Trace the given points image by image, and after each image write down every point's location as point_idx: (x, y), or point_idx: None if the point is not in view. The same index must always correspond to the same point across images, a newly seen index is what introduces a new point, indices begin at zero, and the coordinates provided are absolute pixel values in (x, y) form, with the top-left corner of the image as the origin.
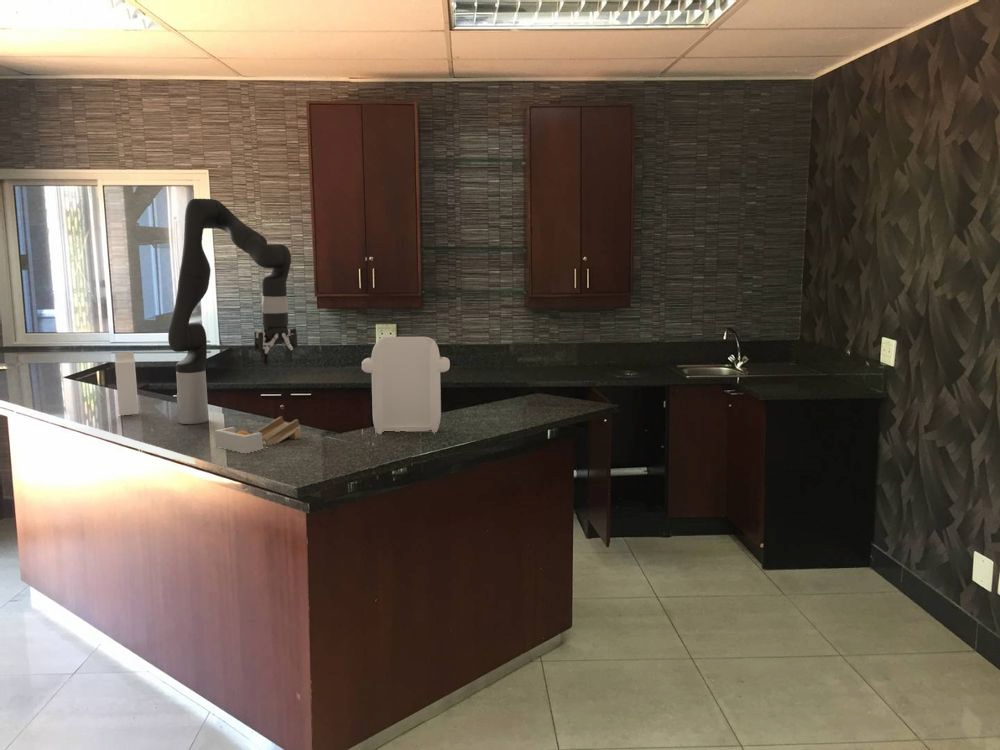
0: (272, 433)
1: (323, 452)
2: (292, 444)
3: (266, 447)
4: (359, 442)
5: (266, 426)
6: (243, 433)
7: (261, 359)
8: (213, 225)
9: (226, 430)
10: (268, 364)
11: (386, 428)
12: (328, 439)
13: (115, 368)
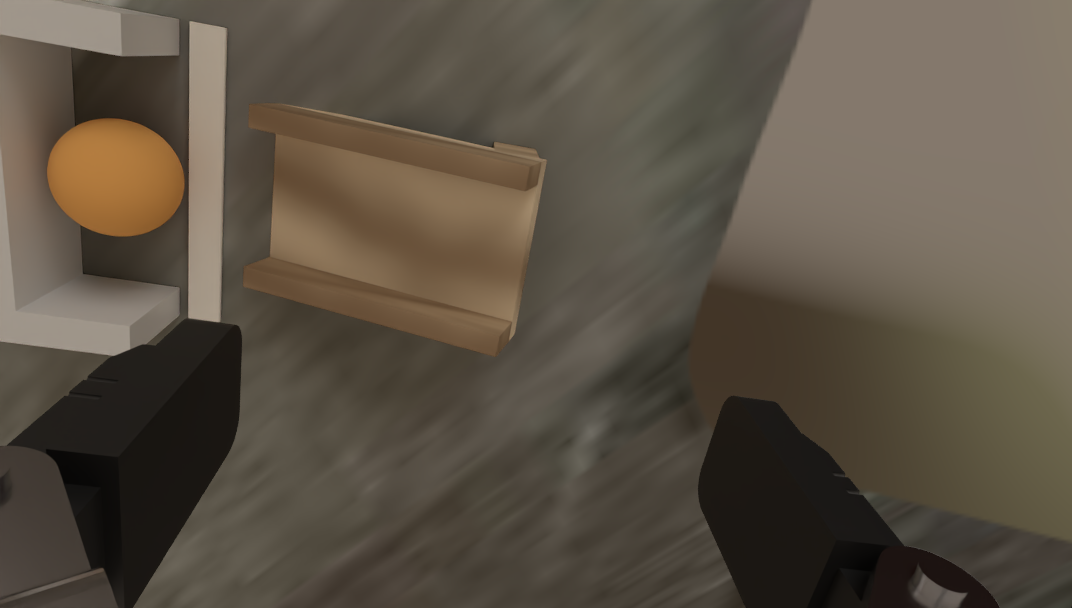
0: (391, 198)
1: (323, 586)
2: (366, 369)
3: (217, 309)
4: (559, 601)
5: (379, 156)
6: (79, 217)
7: (74, 404)
8: None
9: (38, 40)
10: (225, 449)
11: None
12: (548, 454)
13: None
